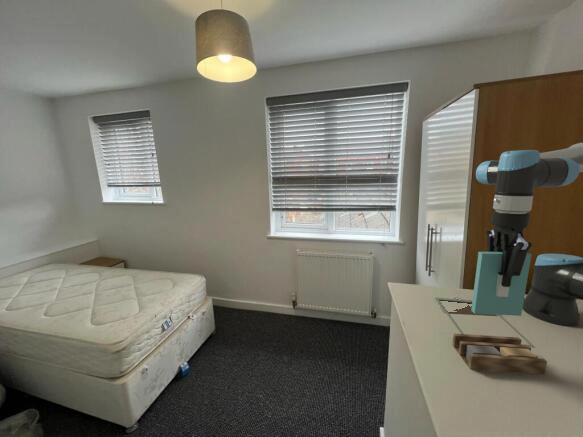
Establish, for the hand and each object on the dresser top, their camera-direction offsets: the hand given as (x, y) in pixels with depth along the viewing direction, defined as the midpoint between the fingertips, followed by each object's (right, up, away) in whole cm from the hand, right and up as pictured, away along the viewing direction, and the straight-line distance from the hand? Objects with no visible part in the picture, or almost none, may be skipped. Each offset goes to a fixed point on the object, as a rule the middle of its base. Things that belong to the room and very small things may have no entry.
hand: (498, 293), depth 69 cm
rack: (0, -20, +1) cm, 20 cm away
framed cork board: (+9, -17, +22) cm, 29 cm away
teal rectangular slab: (0, -6, +1) cm, 6 cm away
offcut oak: (+4, -19, -1) cm, 20 cm away
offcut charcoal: (-5, -19, 0) cm, 20 cm away
